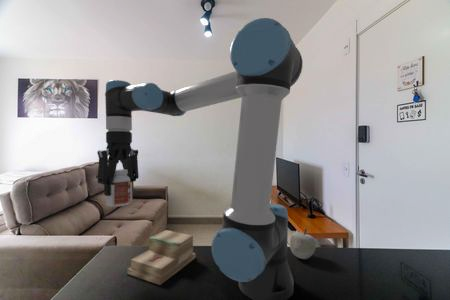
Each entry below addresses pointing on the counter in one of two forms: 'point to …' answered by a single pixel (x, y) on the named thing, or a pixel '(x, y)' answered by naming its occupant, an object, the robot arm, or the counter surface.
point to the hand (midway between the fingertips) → (119, 203)
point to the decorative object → (302, 244)
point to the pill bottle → (121, 187)
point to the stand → (163, 257)
